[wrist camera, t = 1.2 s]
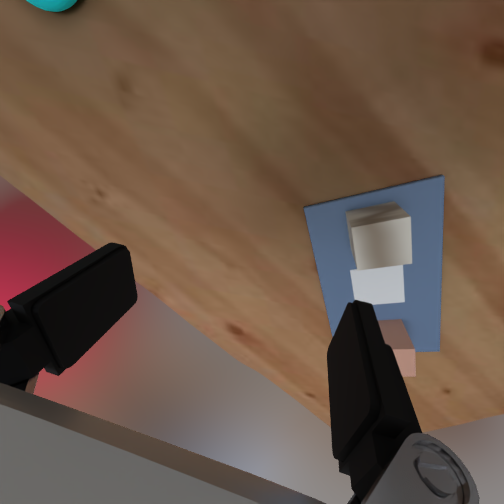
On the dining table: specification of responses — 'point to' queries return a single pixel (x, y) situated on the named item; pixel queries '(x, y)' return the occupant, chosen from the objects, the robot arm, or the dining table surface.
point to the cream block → (380, 236)
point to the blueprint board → (386, 278)
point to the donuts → (53, 4)
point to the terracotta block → (399, 345)
